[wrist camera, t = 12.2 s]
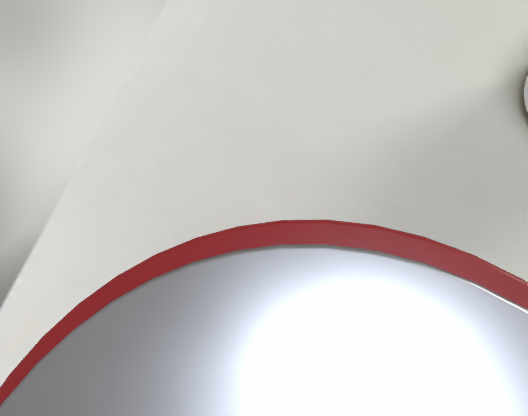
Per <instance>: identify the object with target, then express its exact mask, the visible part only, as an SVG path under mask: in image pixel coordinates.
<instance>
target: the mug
mask: <svg viewBox="0 0 528 416" xmlns="http://www.w3.org/2000/svg"><path fill="white" fill-rule="evenodd" d="M524 103H525V107H526V110H527V113H528V75H527V77H526V80H525V86H524Z"/></svg>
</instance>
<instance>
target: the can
mask: <svg viewBox="0 0 528 416" xmlns="http://www.w3.org/2000/svg"><path fill="white" fill-rule="evenodd" d="M0 416H528V282H526V281H525V280H523V279H521V278H519V277H517V276H515V275H513V274H511V273H509V272H507V271H505V270H503V269H501V268H499V267H497V266H495V265H493V264H491V263H489V262H487V261H485V260H482V259H480V258H478V257H476V256H474V255H472V254H470V253H467V252H464V251H461V250H459V249H456V248H453V247H450V246H448V245H445V244H442V243H439V242H437V241H434V240H431V239H428V238H426V237H423V236H419V235H415V234H410V233H406V232H402V231H398V230H393V229H389V228H385V227H381V226H376V225H370V224H361V223H352V222H343V221H334V220H280V221H273V222H266V223H259V224H252V225H245V226H238V227H234V228H230V229H227V230H223V231H219V232H216V233H212V234H208V235H205V236H201V237H197V238H194V239H192V240H190V241H187V242H185V243H182V244H180V245H177V246H175V247H173V248H170V249H168V250H165V251H163V252H160V253H158V254H156V255H154V256H152V257H150V258H148V259H147V260H145V261H143V262H141V263H140V264H138V265H136V266H134V267H132V268H131V269H129V270H127V271H125V272H124V273H122V274H120V275H118V276H116V277H115V278H114V279H112V280H111V281H109V282H108V283H107V284H105V285H104V286H103V287H101V288H100V289H98V290H97V291H96V292H94V293H93V294H92V295H90V296H89V297H87V298H86V299H85V300H83V301H82V302H81V303H79V304H78V305H77V306H76V307H75V308H74V309H73V310H71V311H70V312H69V313H68V314H67V315H66V316H65V317H64V318H63V319H62V320H61V321H59V322H58V323H57V324H56V325H55V326H54V327H53V328H52V329H51V330H50V331H49V332H47V333H46V334H45V335H44V336H43V337H42V338H41V339H40V341H39V342H38V343H37V344H36V345H35V346H34V347H33V348H32V350H31V351H30V352H29V353H28V354H27V355H26V356H25V358H24V359H23V360H22V361H21V362H20V363H19V364H18V366H17V367H16V368H15V369H14V370H13V371H12V372H11V374H10V375H9V376H8V377H7V379H6V380H5V382H4V383H3V384H2V386H1V387H0Z"/></svg>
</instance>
